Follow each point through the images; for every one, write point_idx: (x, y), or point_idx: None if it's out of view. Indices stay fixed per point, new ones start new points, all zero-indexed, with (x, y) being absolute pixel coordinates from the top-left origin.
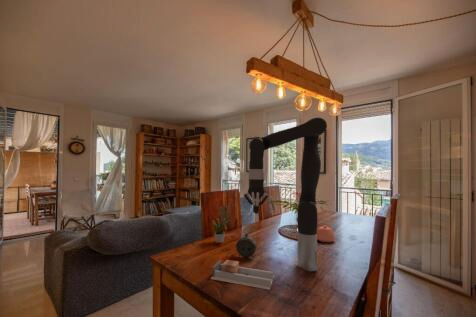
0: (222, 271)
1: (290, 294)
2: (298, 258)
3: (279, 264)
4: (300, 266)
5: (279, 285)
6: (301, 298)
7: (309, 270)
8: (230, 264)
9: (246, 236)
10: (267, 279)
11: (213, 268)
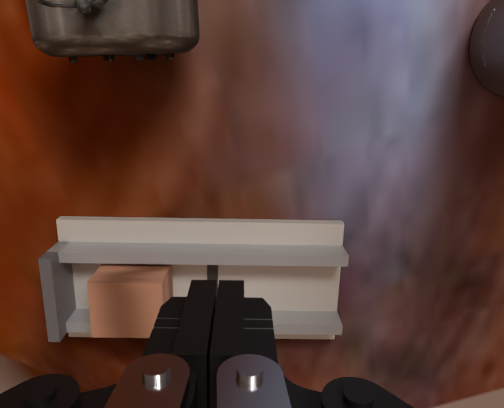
0: None
1: (412, 323)
2: (500, 60)
3: (359, 51)
4: (487, 82)
5: (368, 275)
6: (452, 335)
7: None
8: (132, 328)
9: (94, 15)
10: (327, 330)
11: (56, 338)
